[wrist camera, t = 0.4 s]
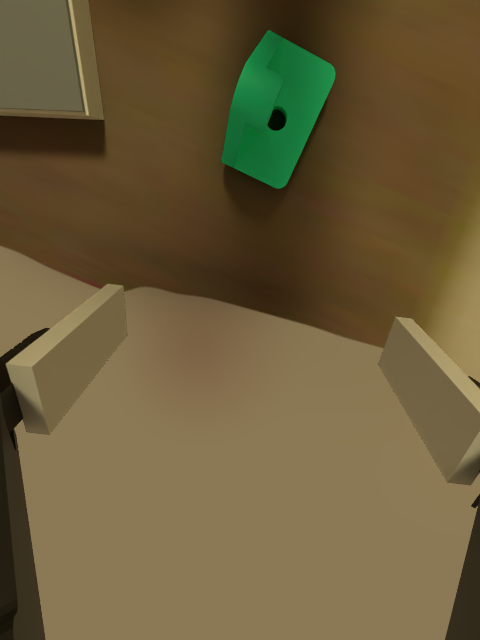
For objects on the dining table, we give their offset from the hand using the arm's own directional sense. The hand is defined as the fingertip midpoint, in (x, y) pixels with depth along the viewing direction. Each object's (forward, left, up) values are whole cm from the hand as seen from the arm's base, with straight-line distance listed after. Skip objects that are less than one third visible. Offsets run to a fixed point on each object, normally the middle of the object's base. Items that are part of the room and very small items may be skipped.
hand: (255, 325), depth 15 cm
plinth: (-16, -26, -27) cm, 41 cm away
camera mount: (-11, +1, -27) cm, 30 cm away
